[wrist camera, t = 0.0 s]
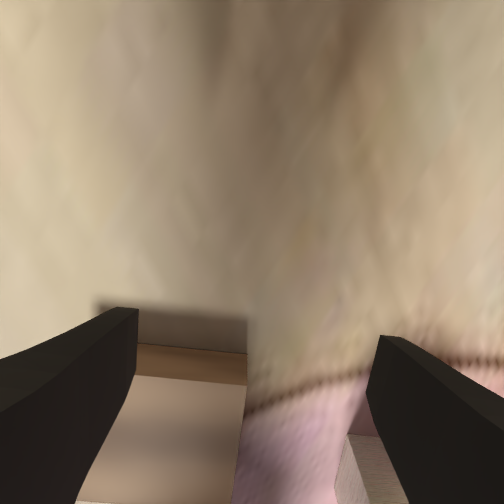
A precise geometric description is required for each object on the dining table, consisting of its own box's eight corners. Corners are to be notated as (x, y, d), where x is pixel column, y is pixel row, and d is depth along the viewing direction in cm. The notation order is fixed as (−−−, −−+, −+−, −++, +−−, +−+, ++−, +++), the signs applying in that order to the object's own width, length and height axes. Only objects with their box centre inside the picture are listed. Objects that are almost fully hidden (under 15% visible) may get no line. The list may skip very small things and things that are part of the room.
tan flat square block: (231, 470, 25) (229, 513, 22) (96, 458, 25) (76, 500, 22) (247, 354, 23) (247, 386, 20) (97, 339, 22) (74, 369, 19)
